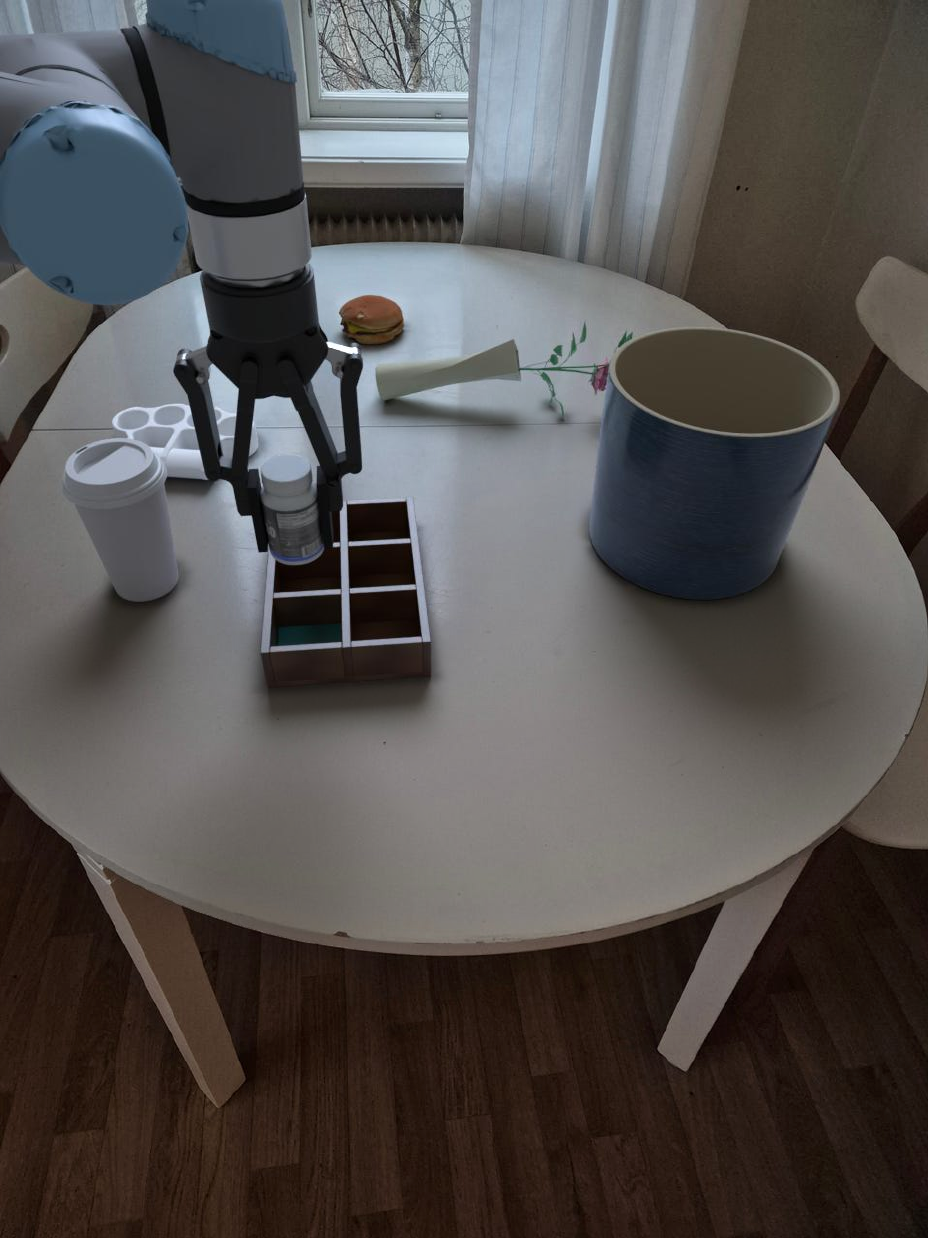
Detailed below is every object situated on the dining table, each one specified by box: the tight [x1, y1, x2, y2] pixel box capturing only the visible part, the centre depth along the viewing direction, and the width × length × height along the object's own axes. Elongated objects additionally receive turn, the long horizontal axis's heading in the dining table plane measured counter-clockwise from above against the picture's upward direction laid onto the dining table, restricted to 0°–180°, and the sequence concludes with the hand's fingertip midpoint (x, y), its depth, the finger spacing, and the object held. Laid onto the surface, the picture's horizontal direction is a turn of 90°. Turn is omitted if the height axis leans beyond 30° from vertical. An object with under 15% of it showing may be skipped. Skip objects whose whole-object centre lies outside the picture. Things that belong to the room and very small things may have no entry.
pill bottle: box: [260, 453, 324, 565], centre depth 71 cm, size 5×5×8 cm
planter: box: [588, 326, 841, 601], centre depth 91 cm, size 22×22×20 cm
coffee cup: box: [61, 437, 180, 603], centre depth 86 cm, size 10×10×15 cm
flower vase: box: [374, 321, 634, 421], centre depth 116 cm, size 12×12×35 cm
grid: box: [259, 496, 432, 688], centre depth 88 cm, size 15×23×5 cm
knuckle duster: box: [111, 403, 259, 481], centre depth 108 cm, size 3×18×15 cm
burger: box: [338, 294, 405, 345], centre depth 133 cm, size 10×9×5 cm
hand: (296, 540), depth 73 cm, fingers closed on pill bottle, 5 cm apart
